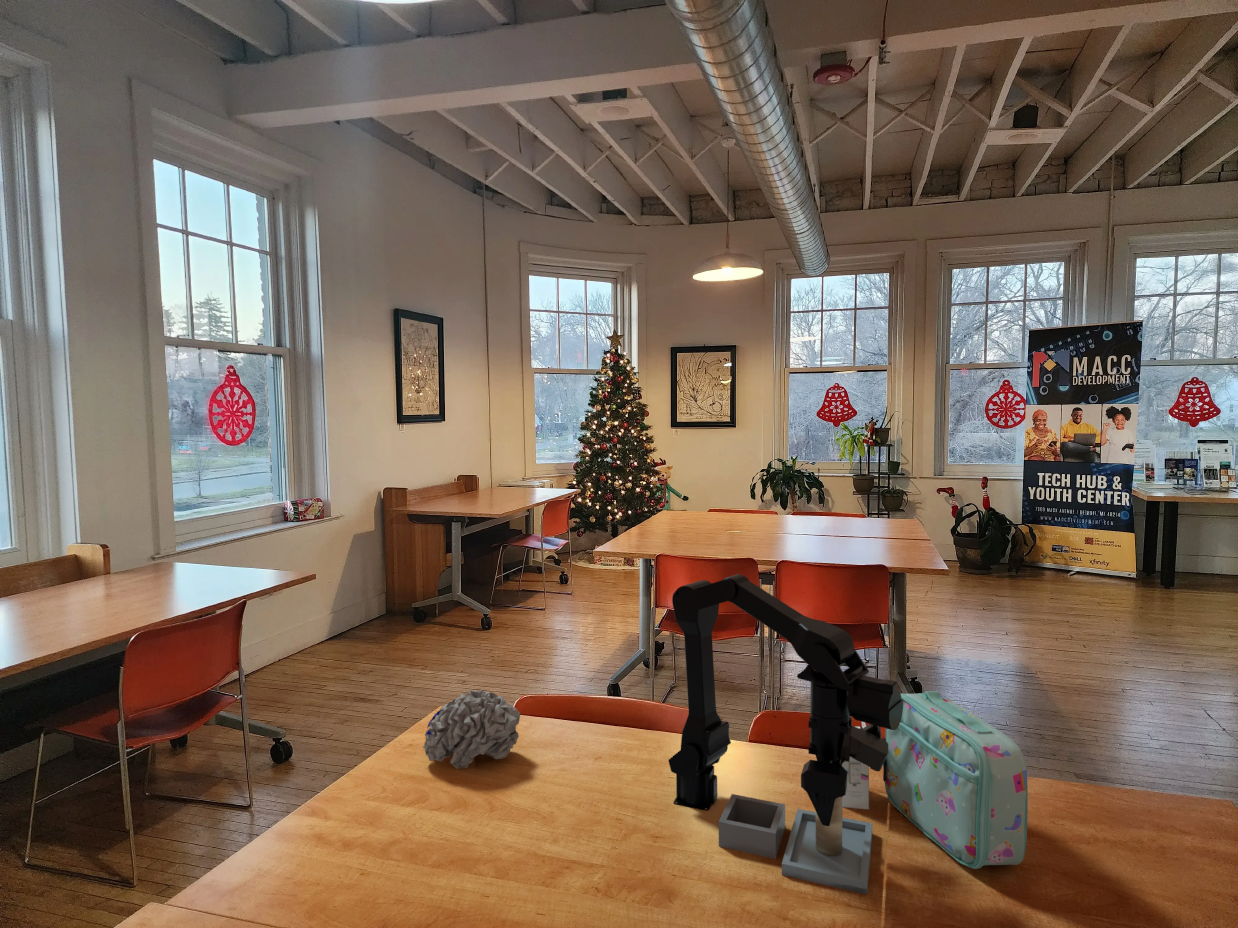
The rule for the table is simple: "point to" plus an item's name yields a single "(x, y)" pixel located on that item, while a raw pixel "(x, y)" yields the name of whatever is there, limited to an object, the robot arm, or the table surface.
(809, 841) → the tray
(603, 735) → the table surface
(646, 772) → the table surface
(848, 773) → the ink cartridge box
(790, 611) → the robot arm
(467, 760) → the educational model
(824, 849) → the dowel
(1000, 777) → the lunch box
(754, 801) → the grey square bin
